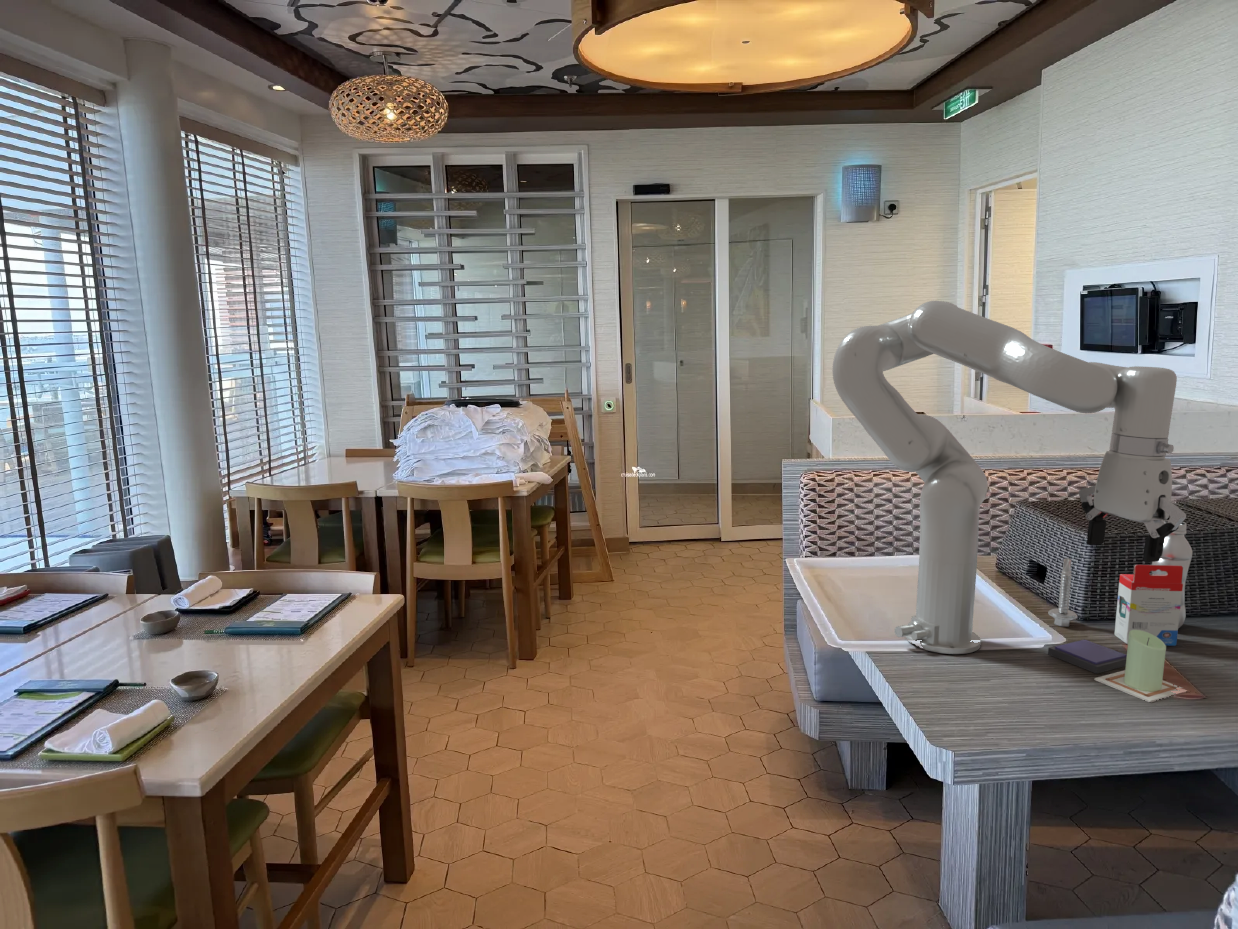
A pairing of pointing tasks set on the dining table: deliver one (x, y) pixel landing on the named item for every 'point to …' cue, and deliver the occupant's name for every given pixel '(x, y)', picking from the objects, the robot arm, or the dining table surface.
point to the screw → (1064, 598)
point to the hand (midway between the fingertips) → (1122, 552)
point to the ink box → (1150, 602)
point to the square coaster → (1150, 696)
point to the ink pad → (1089, 656)
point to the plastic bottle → (1176, 559)
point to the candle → (1144, 661)
